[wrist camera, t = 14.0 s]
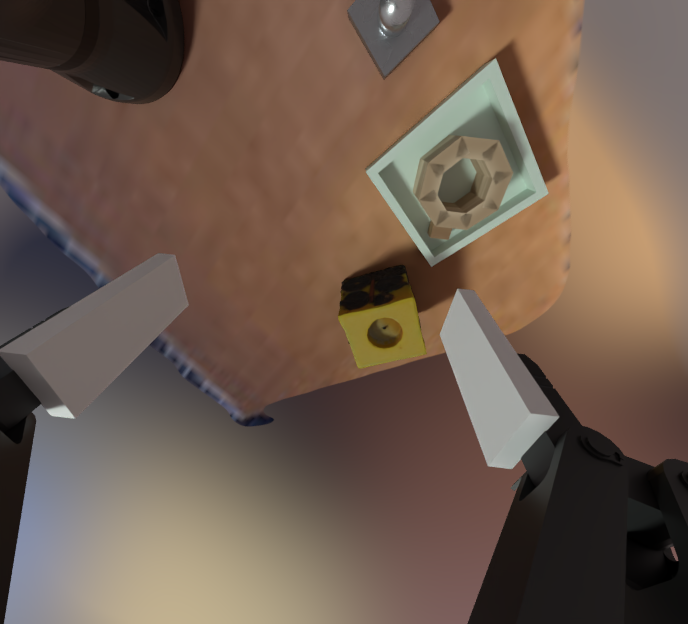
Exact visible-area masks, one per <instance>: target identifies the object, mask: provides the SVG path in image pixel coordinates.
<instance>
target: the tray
mask: <svg viewBox="0 0 688 624" xmlns="http://www.w3.org/2000/svg"><path fill="white" fill-rule="evenodd" d="M448 135H456V136H467V137H475V138H483V139H492V140H499V141H500V144H501V146H502V148H503V151H504V153H505V155H506V157H507V160H508V162H509V164H510V167H511V169H512V171H513V175H512V177H511V180H510V182H509V185H508V187H507V190H506V192H505V195H504V197H503V199H502V202H501V204H500V207H499V209H498V210H497V211H496V212H494V213H492V214H491V215H489V216H488V217H486V218H485V219H483V220H482V221H480V222H479V223H477V224H475V225H474V226H472V227H471V228H469V229H468V230H462V229H454V228H452V231H451V234H450V237H449V240H445V239H437V238H430V237H429V235H428V233H427V232H428V228H429V225H430V221H431V219H430V218H429V217H428V215H427V214H426V212H425V211H424V209H423V207H422V206H421V204H420V203H419V201H418V199H417V198H416V196H415V195H414V193H413V187H414V183H415V178H416V174H417V169H418V165H419V161H420V158H421V157H422V156H423V155H425V154H426V153H427V152H428V151H430V150H431V149H432V148H433V147H434V146H436V145H437V144H438V143H439V142H441V141H442V140H443V139H444V138H445V137H447V136H448ZM366 173H367V174H368V176H369V177H370V179H371V180H372V182H373V183H374V184H375V186H376V187H377V189H378V190H379V192H380V193H381V195H382V196H383V197H384V199H385V200H386V202H387V203H388V205H389V206H390V208H391V209H392V211H393V212H394V213H395V215H396V216H397V218H398V219H399V221H400V222H401V224H402V225H403V227H404V228H405V229H406V231H407V232H408V234H409V235H410V237H411V238H412V240H413V241H414V242H415V244H416V245H417V247H418V248H419V250H420V251H421V253H422V254H423V256H424V257H425V258H426V260H427V261H428V263H429V264H430V266H431V267H432V266H434V265H435V264H437V263H439V262H440V261H442V260H443V259H445V258H447V257H448V256H450V255H451V254H453V253H455V252H456V251H458V250H459V249H461V248H463V247H464V246H466V245H467V244H469V243H471V242H472V241H474V240H475V239H477V238H479V237H480V236H482V235H483V234H485V233H487V232H488V231H490V230H491V229H493V228H495V227H496V226H498V225H499V224H501V223H503V222H504V221H506V220H507V219H509V218H511V217H512V216H514V215H515V214H517V213H519V212H520V211H522V210H523V209H525V208H527V207H528V206H530V205H531V204H533V203H535V202H536V201H538V200H539V199H541V198H543V197H544V196H546V195H547V194H549V193H548V191H547V188H546V185H545V183H544V180H543V178H542V175H541V173H540V170H539V168H538V165H537V162H536V160H535V157H534V155H533V152H532V150H531V147H530V145H529V142H528V139H527V137H526V134H525V132H524V129H523V127H522V124H521V121H520V119H519V116H518V114H517V111H516V109H515V106H514V104H513V101H512V98H511V96H510V93H509V91H508V88H507V86H506V83H505V81H504V78H503V75H502V73H501V70H500V68H499V65H498V63H497V60H496V58H495V59H493V60H491V61H489V62H488V63H486V64H484V65H483V66H482V67H480V68H479V69H478V70H477V71H476V72H475V73H474V74H472V75H471V76H470V77H469V78H468V79H467V80H466V81H465V82H463V83H462V84H461V85H460V86H459V87H458V88H457V89H455V90H454V91H453V92H452V93H451V94H450V95H449V96H447V97H446V98H445V99H444V100H443V101H442V102H441V103H440V104H438V105H437V106H436V107H435V108H434V109H433V110H432V111H430V112H429V113H428V114H427V115H426V116H425V117H424V118H422V119H421V120H420V121H419V122H418V123H417V124H416V125H415V126H413V127H412V128H411V129H410V130H409V131H408V132H407V133H405V134H404V135H403V136H402V137H401V138H400V139H399V140H398V141H396V142H395V143H394V144H393V145H392V146H391V147H390V148H388V149H387V150H386V151H385V152H384V153H383V154H382V155H380V156H379V157H378V158H377V159H376V160H375V161H374V162H373V163H371V164H370V165H369V166H368V167H367V168H366ZM475 175H476V170H475V168H474V166H473V164H472V162H471V160H470V159H467V158H462V159H461V160H460V161H458V162H457V163H456V164H455V165H453V166H452V167H451V168H449V169H448V170H447V171H445V172H444V173H443V176H442V180H441V184H440V187H439V191H438V197H439V199H440V200H441V202H448V203H455V202H456V201H458V200H459V199H460V198H462V197H463V196H465V195H466V194H467V193H469V192H470V190H471V187H472V184H473V181H474V178H475Z"/></svg>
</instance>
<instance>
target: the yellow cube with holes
mask: <svg viewBox="0 0 688 624" xmlns="http://www.w3.org/2000/svg"><path fill="white" fill-rule="evenodd" d="M341 289H342V290H341V301H340V311H339V315H338V318H339V322H340V324H341V325H342V327H343V329H344V330H345V333H346V336H347V339H348V342H349V344H350V346H351V349H352V352H353V355H354V358H355V361H356V363H357V366H358V368H365V367H369V366H374V365H378V364H382V363H387V362H391V361H396V360H401V359H406V358H411V357H416V356H421V355H425V354H427V353H426V348H425V343H424V340H423V337H422V333H421V326H420V320H419V316H418V312H417V307H416V302H415V298H414V295H413V293H412V291H411V286H410V285H409V281H408V276H407V271H406V268H405V266H404V265H401V266H395V267H393V268H387V269H385V270H380V271H377V272H373V273H370V274H366V275H363V276H360V277H356V278H352V279H349V280H344V281H343V282H342V287H341Z"/></svg>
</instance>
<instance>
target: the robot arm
mask: <svg viewBox="0 0 688 624" xmlns="http://www.w3.org/2000/svg"><path fill="white" fill-rule="evenodd" d="M183 53H184V29H183V21H182V15H181V10H180V5H179V1H178V0H0V60H1V61H7V62H12V63H18V64H23V65H28V66H34V67H40V68H45V69H50V70H52V71H54V72H55V73H57V74H59V75H61V76H63V77H64V78H66V79H68V80H70V81H71V82H73V83H75V84H77V85H79V86H80V87H82V88H84V89H86V90H88V91H89V92H91V93H93V94H95V95H98V96H100V97H102V98H105V99H108V100H112V101H116V102H122V103H131V104H145V103H150V102H153V101H156V100H158V99H159V98H161V97H162V96H164V95H165V94H166V93H167V92H168V91H169V90H170V89H171V87H172V86H173V85H174V83H175V81H176V79H177V77H178V75H179V72H180V69H181V65H182V60H183ZM187 306H188V301H187V297H186V293H185V290H184V286H183V282H182V279H181V275H180V271H179V268H178V264H177V260H176V257H175V255H170V254H161V253H158V254H156V255H155V256H153V257H151V258H150V259H148V260H146V261H145V262H143V263H141V264H140V265H138V266H137V267H135V268H133V269H132V270H130V271H128V272H127V273H125V274H123V275H122V276H120V277H118V278H117V279H115V280H113V281H112V282H110V283H108V284H107V285H105V286H103V287H102V288H100V289H98V290H97V291H95V292H94V293H92V294H90V295H89V296H87V297H85V298H84V299H82V300H80V301H79V302H77V303H75V304H74V305H72V306H70V307H67V308H65V309H62V310H60V311H58V312H56V313H55V314H53V315H51V316H50V317H48V318H46V320H45V321H41V322H40V323H38V324H36V325H35V326H33V328H32V329H28V330H26V331H25V332H23V333H21V334H20V335H18V336H16V337H15V338H13V339H11V340H9V341H8V342H7V343H4V344H3V345H1V346H0V624H4V619H5V613H6V606H7V600H8V594H9V588H10V581H11V575H12V568H13V563H14V556H15V550H16V544H17V538H18V531H19V525H20V519H21V513H22V506H23V500H24V494H25V487H26V481H27V475H28V469H29V462H30V456H31V450H32V444H33V437H34V431H35V424H36V418H35V415H34V414H33V413H32V411H33V410H34V409H35V408H37V407H38V406H39V405H40V404H42V406H43V407H44V408H45V409H46V410H47V411H48V413H49V414H50V415H51V416H57V417H66V418H74V419H75V418H77V416H78V415H80V414H81V412H82V411H84V410H85V409H86V408H87V406H88V405H90V404H91V403H92V402H93V401H94V400H95V399H96V398H97V397H98V396H99V395H100V394H101V393H102V391H103V390H104V389H105V388H106V387H107V386H108V385H109V384H110V383H111V382H112V381H113V380H114V379H115V378H116V377H117V376H118V375H119V374H120V373H121V372H122V371H123V370H124V369H125V368H126V367H127V366H128V365H129V364H130V363H131V362H132V361H133V360H134V359H135V358H136V357H137V356H138V355H139V354H140V353H141V352H142V351H143V350H144V349H145V348H146V347H147V346H148V345H149V344H150V343H151V342H152V341H153V340H154V339H155V338H156V337H157V336H158V335H159V334H160V333H161V332H162V331H163V330H164V329H165V328H166V327H167V326H168V325H169V324H170V323H171V322H172V321H173V320H174V319H175V318H176V317H177V316H178V315H179V314H180V313H181V312H182V311H183V310H184V309H185V308H186V307H187ZM440 336H441V339H442V342H443V345H444V347H445V350H446V353H447V355H448V358H449V361H450V364H451V367H452V369H453V372H454V375H455V377H456V380H457V383H458V386H459V388H460V391H461V394H462V397H463V399H464V402H465V405H466V408H467V410H468V413H469V415H470V418H471V421H472V424H473V427H474V429H475V432H476V435H477V437H478V440H479V443H480V446H481V449H482V451H483V454H484V457H485V459H486V462H487V465H488V466H491V467H499V468H508V469H512V468H513V467H514V466H515V465H516V464H517V463H518V462H519V461H520V460H522V462H523V464H524V466H525V468H526V470H527V471H526V472H525V473H524V474H523V476H521V477H520V479H519V480H517V481H516V482H515V483H514V485H513V486H512V487H511V489H513V490H514V491H515V490H516V488H517V491H516V494H515V497H514V499H513V502H512V505H511V507H510V510H509V513H508V516H507V518H506V521H505V524H504V527H503V529H502V532H501V535H500V537H499V540H498V543H497V545H496V548H495V551H494V553H493V556H492V559H491V562H490V564H489V567H488V570H487V572H486V575H485V578H484V580H483V583H482V586H481V589H480V592H479V594H478V597H477V599H476V602H475V605H474V608H473V610H472V613H471V616H470V619H469V621H468V624H688V463H687V462H683V461H680V460H676V459H666V460H665V461H663V462H662V463H660V464H659V465H657V466H656V467H653V466H651V465H648V464H645V463H643V462H640V461H637V460H635V459H632V458H629V457H626V456H624V455H623V453H622V452H621V450H620V449H619V448H618V447H617V446H616V445H615V444H614V443H613V442H612V441H611V440H610V439H608V438H607V437H605V436H604V435H602V434H601V433H599V432H597V431H595V430H593V429H590V428H588V427H585V426H582V425H581V424H580V422H579V421H578V420H577V418H576V417H575V416H574V414H573V413H572V411H571V410H570V409H569V407H568V406H567V405H566V404H565V402H564V400H563V399H562V398H561V396H560V395H559V394H558V392H557V391H556V390H555V389H553V385H552V384H551V383H550V381H549V380H548V379H546V376H545V375H544V373H543V372H542V370H541V369H540V368H539V366H538V365H537V364H536V363H535V362H533V361H532V360H531V359H530V358H528V357H527V356H526V355H525V354H517V353H516V352H515V350H514V349H513V347H512V346H511V344H510V343H509V341H508V340H507V338H506V337H505V335H504V334H503V333H502V331H501V330H500V328H499V327H498V325H497V324H496V322H495V321H494V319H493V318H492V316H491V315H490V313H489V312H488V310H487V309H486V307H485V306H484V304H483V303H482V301H481V300H480V299H479V297H478V296H477V294H476V293H475V291H474V290H466V289H457V291H456V294H455V296H454V299H453V302H452V304H451V307H450V309H449V312H448V315H447V317H446V320H445V322H444V325H443V327H442V330H441V333H440ZM673 546H674V548H675V551H676V553H677V556H678V561H676V560H675V558H674V556H673V554H672V551H671V548H670V547H673Z"/></svg>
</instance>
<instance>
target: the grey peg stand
mask: <svg viewBox="0 0 688 624" xmlns="http://www.w3.org/2000/svg"><path fill="white" fill-rule="evenodd" d="M347 12H348V18H349V20H350V21H351V23H352V25H353V27H354V29H355V30H356V32H357V34H358V36H359V37H360V39H361V41H362V43H363V44H364V46H365V48H366V50H367V51H368V53H369V55H370V57H371V58H372V60H373V62H374V64H375V65H376V67H377V69H378V71H379V72H380V74H381V76H382V78H383V79H385V78H386V77H387V76H388V75H389V74H390V73H391V72H392V71H393V70H394V69H395V68H396V67H397V66H398V65H399V64H400V63H401V62H402V61H403V60H404V59H405V58H406V57H407V56H408V55H409V54H410V53H411V52H412V51H413V50H414V49H415V48H416V47H417V46H418V45H419V44H420V43H421V42H422V41H423V40H424V39H425V38H426V37H427V36H428V35H429V34H430V33H431V32H432V31H433V30H434V29H435V27H436V26H437V25H438V23H439V22H440V21H439V19H438V17H437V15H436V12H435V10H434V8H433V6H432V4H431V1H430V0H355V2H354V3H353V4H352V5H351V7H350V8H349V9H348V10H347Z"/></svg>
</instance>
